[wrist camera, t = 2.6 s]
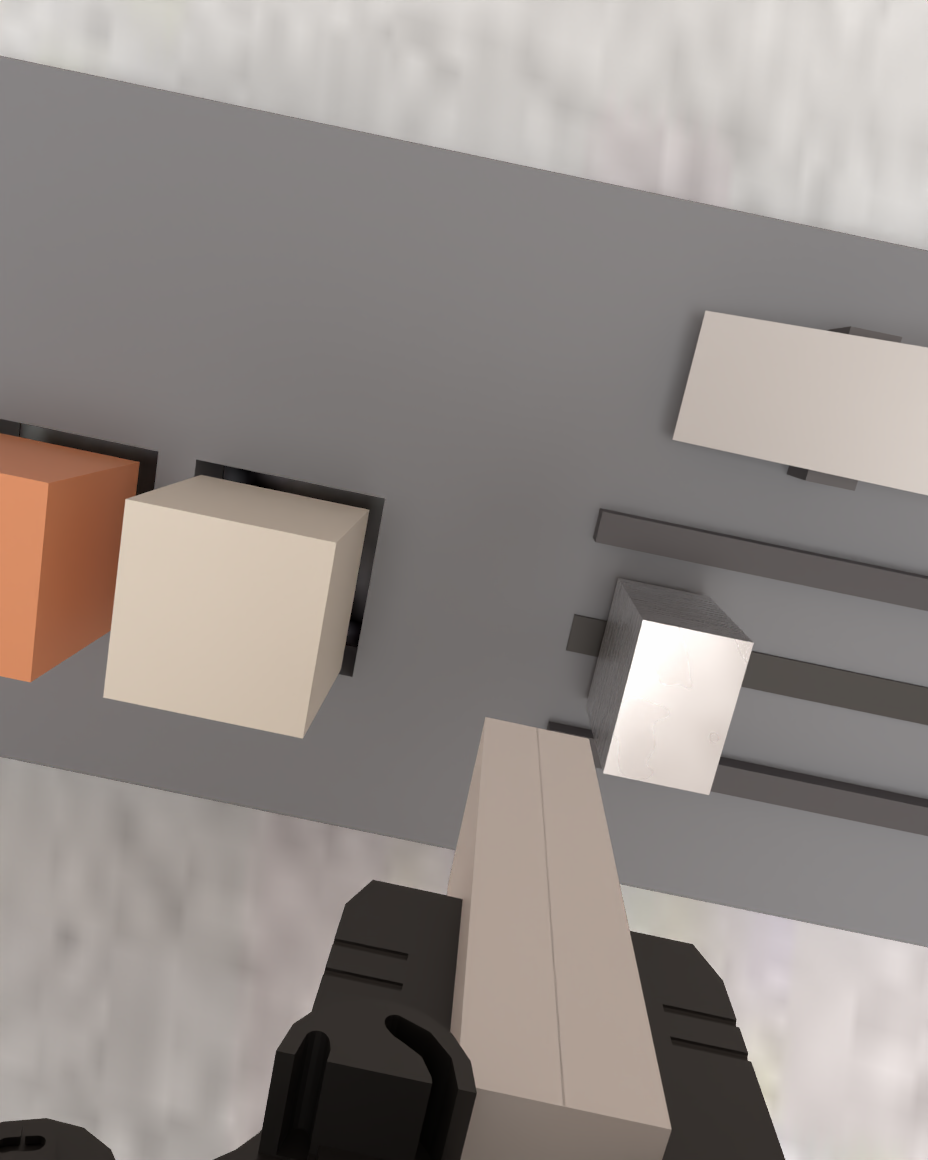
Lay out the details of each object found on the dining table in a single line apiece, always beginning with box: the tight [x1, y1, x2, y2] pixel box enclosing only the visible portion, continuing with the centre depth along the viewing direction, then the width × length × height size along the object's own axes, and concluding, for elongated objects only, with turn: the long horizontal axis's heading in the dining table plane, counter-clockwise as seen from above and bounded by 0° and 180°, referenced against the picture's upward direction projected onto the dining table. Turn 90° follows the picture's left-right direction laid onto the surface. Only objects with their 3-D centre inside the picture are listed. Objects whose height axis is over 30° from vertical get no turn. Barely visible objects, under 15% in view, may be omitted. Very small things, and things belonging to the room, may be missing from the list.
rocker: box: [672, 311, 928, 495], centre depth 19 cm, size 8×3×1 cm, turn 79°
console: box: [0, 56, 928, 947], centre depth 23 cm, size 32×18×4 cm, turn 79°
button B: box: [103, 475, 369, 739], centre depth 21 cm, size 4×4×5 cm
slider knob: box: [586, 578, 754, 795], centre depth 21 cm, size 2×4×4 cm, turn 168°
